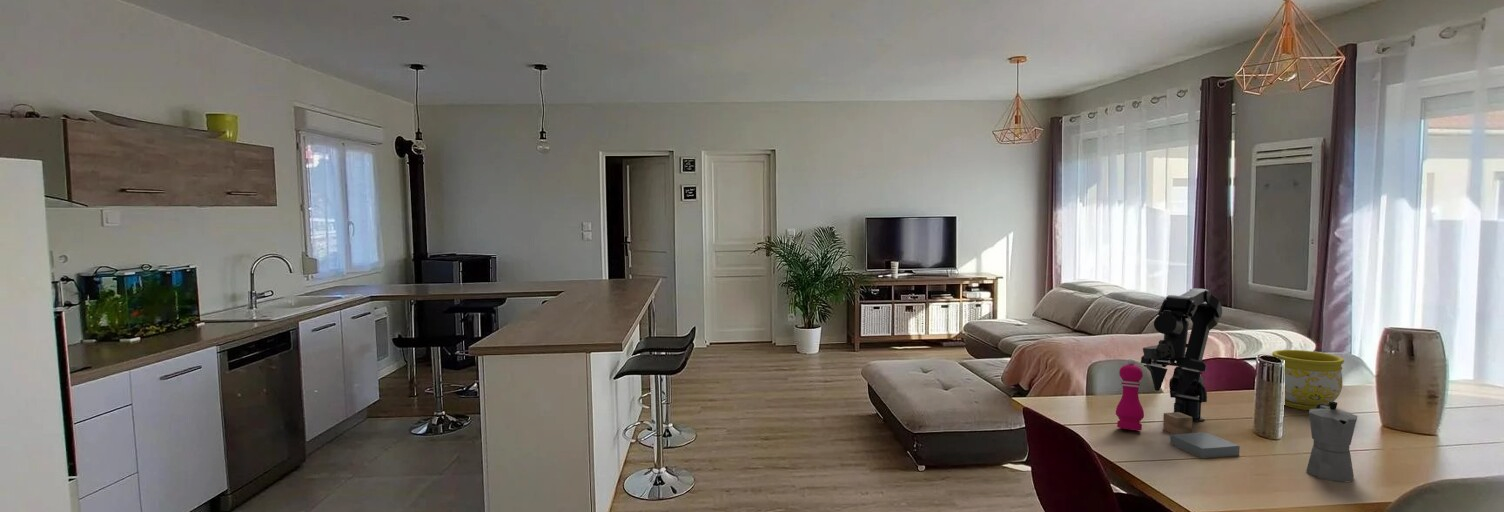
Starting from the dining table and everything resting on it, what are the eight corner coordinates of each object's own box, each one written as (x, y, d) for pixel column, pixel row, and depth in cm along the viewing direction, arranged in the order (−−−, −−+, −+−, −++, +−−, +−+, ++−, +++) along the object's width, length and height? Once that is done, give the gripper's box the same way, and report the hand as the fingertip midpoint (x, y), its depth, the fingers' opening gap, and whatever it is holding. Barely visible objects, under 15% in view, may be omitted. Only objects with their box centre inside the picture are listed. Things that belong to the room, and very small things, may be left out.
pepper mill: (1142, 429, 203) (1144, 360, 206) (1144, 431, 197) (1146, 360, 199) (1114, 426, 206) (1116, 358, 209) (1116, 428, 200) (1118, 357, 202)
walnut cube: (1178, 428, 203) (1178, 412, 203) (1191, 434, 199) (1192, 417, 198) (1163, 429, 203) (1163, 413, 202) (1176, 435, 198) (1176, 418, 197)
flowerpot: (1357, 413, 216) (1359, 361, 214) (1298, 414, 216) (1300, 361, 215) (1311, 397, 234) (1313, 349, 232) (1256, 398, 234) (1259, 349, 233)
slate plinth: (1205, 441, 192) (1205, 432, 192) (1239, 455, 182) (1239, 445, 181) (1169, 443, 191) (1170, 434, 191) (1201, 458, 180) (1202, 448, 180)
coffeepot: (1366, 488, 160) (1370, 411, 159) (1316, 482, 164) (1320, 407, 162) (1338, 464, 174) (1342, 394, 173) (1292, 460, 178) (1296, 390, 177)
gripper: (1128, 332, 209) (1121, 384, 208) (1174, 334, 191) (1167, 391, 189) (1161, 339, 211) (1154, 390, 209) (1210, 342, 193) (1203, 398, 191)
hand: (1168, 392), depth 200 cm, fingers open, 9 cm apart
